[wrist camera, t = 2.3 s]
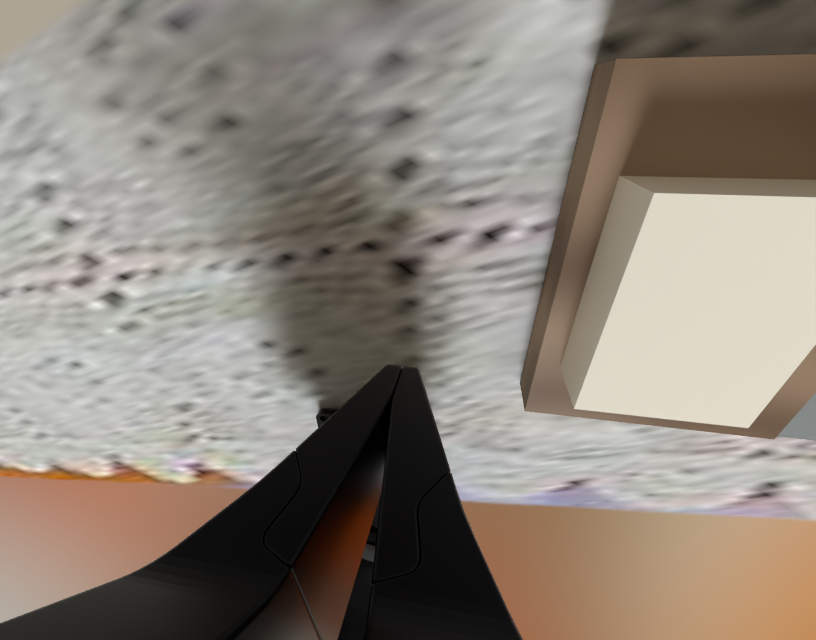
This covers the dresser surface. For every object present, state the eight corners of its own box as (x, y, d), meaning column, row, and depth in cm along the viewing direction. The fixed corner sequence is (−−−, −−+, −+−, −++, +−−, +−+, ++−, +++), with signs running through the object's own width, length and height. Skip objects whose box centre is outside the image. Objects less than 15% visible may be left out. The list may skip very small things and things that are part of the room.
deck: (744, 406, 17) (774, 439, 15) (520, 383, 19) (524, 410, 17) (1010, 56, 9) (1123, 47, 8) (594, 65, 11) (616, 59, 9)
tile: (708, 381, 14) (748, 428, 12) (560, 367, 15) (573, 409, 13) (836, 180, 10) (931, 200, 8) (619, 175, 11) (654, 192, 9)
